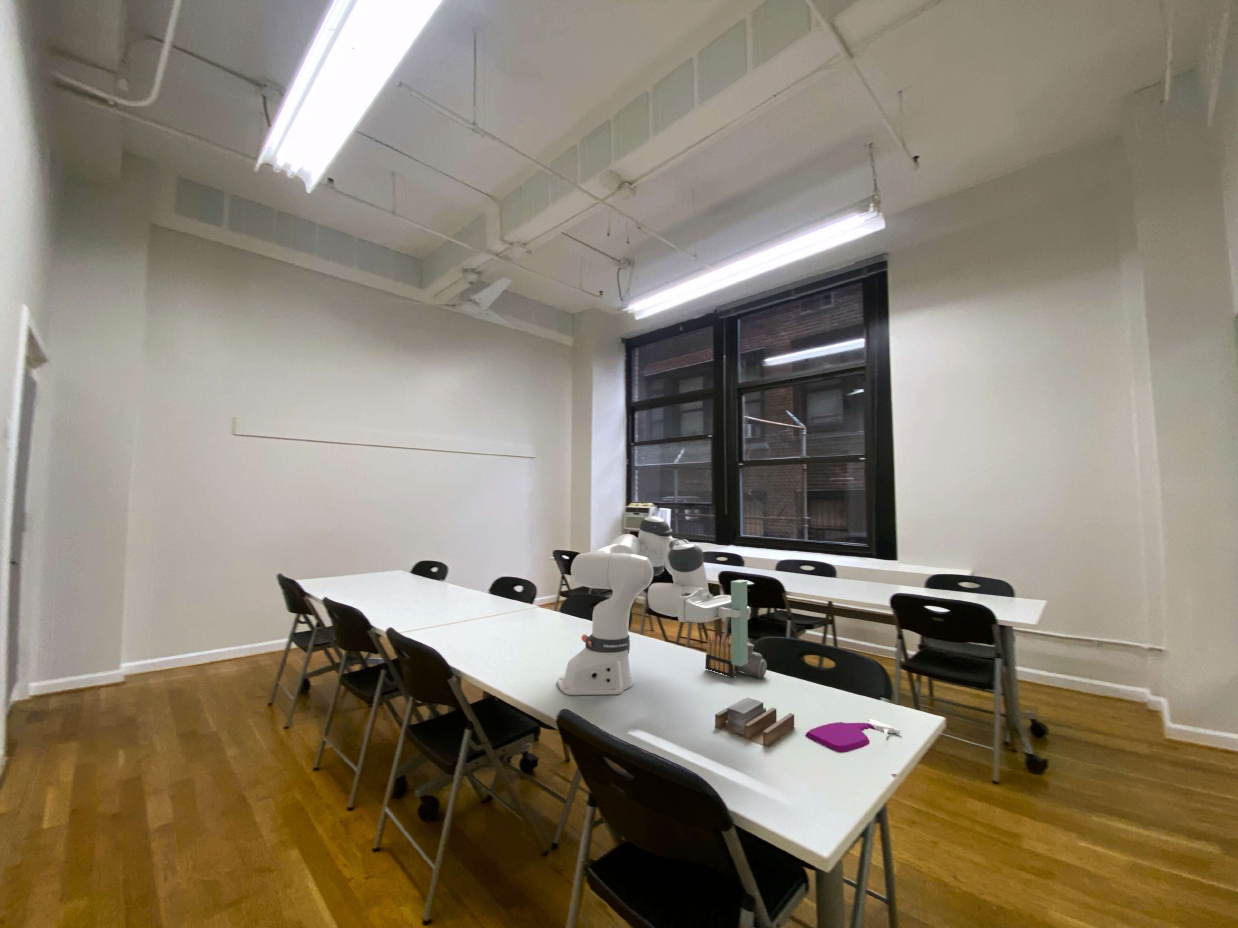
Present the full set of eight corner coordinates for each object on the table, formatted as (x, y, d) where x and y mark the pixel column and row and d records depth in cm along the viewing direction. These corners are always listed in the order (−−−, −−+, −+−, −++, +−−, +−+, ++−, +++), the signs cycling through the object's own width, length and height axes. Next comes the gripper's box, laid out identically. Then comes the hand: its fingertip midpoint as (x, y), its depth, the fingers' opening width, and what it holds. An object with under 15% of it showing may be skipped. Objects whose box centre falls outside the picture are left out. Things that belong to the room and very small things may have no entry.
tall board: (731, 663, 120) (730, 581, 121) (738, 660, 122) (738, 579, 124) (740, 666, 118) (739, 582, 120) (747, 663, 120) (747, 581, 122)
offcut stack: (725, 727, 116) (725, 708, 116) (748, 714, 124) (748, 695, 124) (744, 734, 112) (744, 714, 113) (766, 720, 120) (766, 701, 121)
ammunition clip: (705, 669, 162) (705, 632, 163) (708, 668, 163) (708, 631, 164) (733, 678, 154) (733, 639, 155) (736, 677, 156) (736, 638, 157)
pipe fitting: (722, 671, 159) (727, 640, 160) (732, 667, 165) (737, 637, 166) (758, 685, 151) (762, 651, 152) (767, 680, 158) (771, 648, 159)
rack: (715, 733, 116) (715, 714, 116) (744, 716, 126) (744, 698, 126) (768, 754, 106) (768, 732, 107) (795, 733, 117) (795, 714, 117)
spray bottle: (800, 742, 113) (863, 722, 126) (843, 764, 104) (906, 740, 116) (800, 729, 114) (863, 710, 126) (842, 749, 104) (906, 727, 117)
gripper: (719, 610, 137) (764, 618, 127) (674, 622, 122) (722, 632, 113) (718, 587, 137) (764, 594, 128) (674, 596, 123) (722, 605, 113)
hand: (744, 612), depth 120 cm, fingers closed on tall board, 3 cm apart
